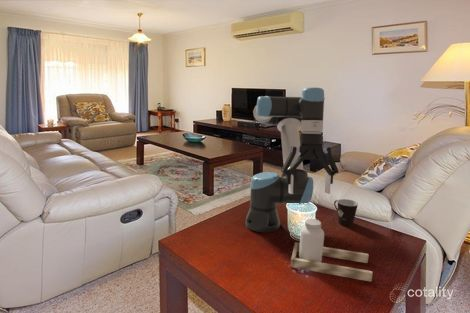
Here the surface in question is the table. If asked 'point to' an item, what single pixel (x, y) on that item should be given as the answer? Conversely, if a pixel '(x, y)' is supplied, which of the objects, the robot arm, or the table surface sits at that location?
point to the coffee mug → (346, 211)
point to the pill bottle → (311, 241)
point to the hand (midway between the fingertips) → (309, 193)
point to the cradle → (332, 268)
